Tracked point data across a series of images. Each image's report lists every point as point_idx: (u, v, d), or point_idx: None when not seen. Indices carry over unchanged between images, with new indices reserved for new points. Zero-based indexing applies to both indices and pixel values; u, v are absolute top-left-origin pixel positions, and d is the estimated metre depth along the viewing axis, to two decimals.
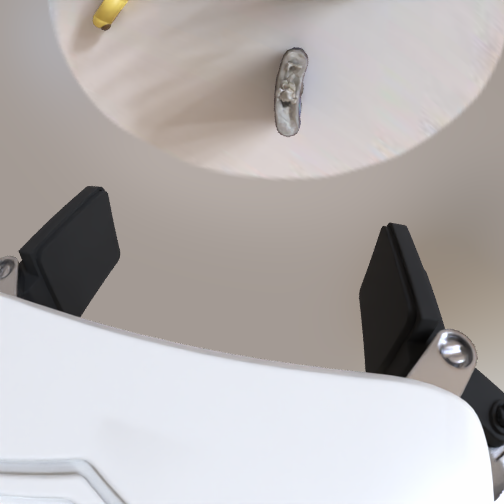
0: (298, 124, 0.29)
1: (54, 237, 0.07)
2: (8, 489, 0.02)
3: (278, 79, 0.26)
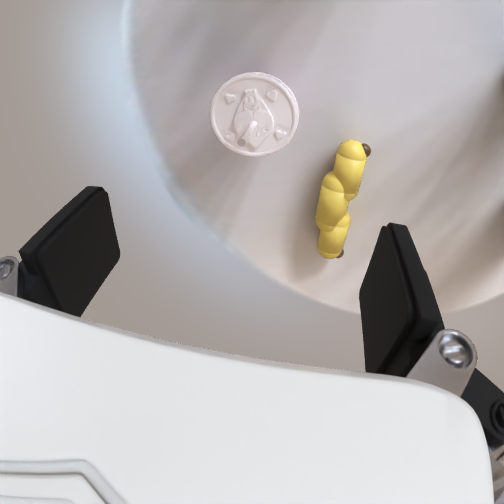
0: None
1: (54, 237, 0.07)
2: (8, 489, 0.02)
3: None
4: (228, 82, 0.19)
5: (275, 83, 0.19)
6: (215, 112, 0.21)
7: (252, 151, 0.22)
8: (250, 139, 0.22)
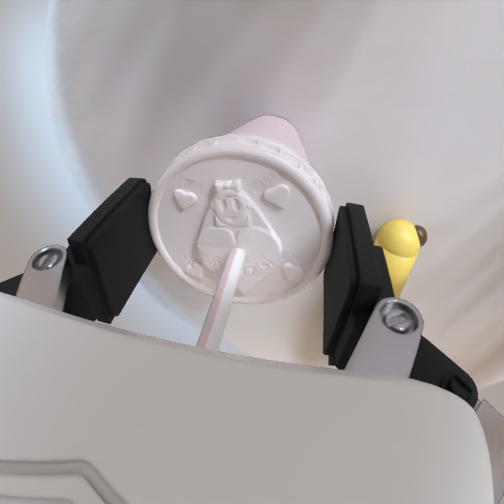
0: None
1: (104, 226, 0.08)
2: (8, 489, 0.02)
3: None
4: (177, 164, 0.09)
5: (285, 168, 0.09)
6: (159, 225, 0.11)
7: (238, 295, 0.12)
8: None
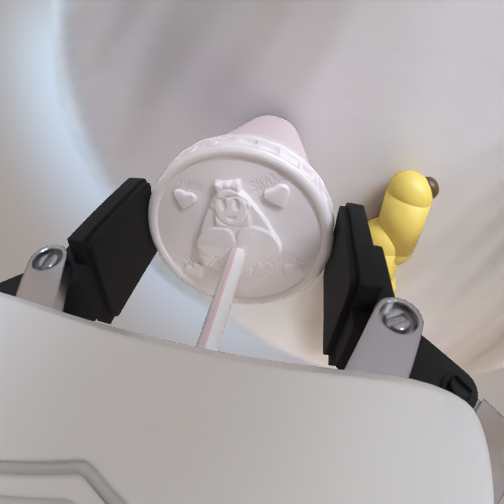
0: None
1: (104, 226, 0.08)
2: (8, 489, 0.02)
3: None
4: (177, 164, 0.09)
5: (285, 168, 0.09)
6: (159, 225, 0.11)
7: (238, 295, 0.12)
8: None
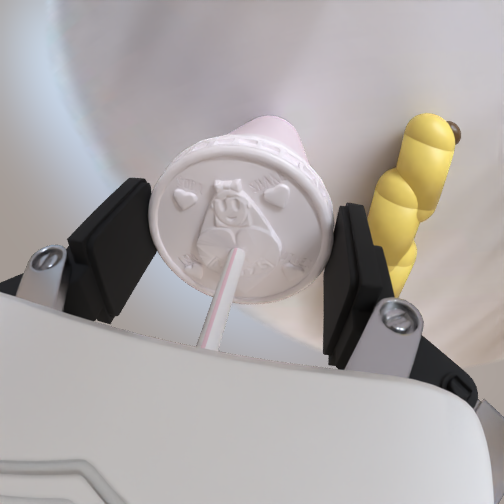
0: None
1: (105, 226, 0.08)
2: (8, 489, 0.02)
3: None
4: (177, 165, 0.09)
5: (285, 168, 0.09)
6: (159, 225, 0.11)
7: (238, 295, 0.12)
8: None
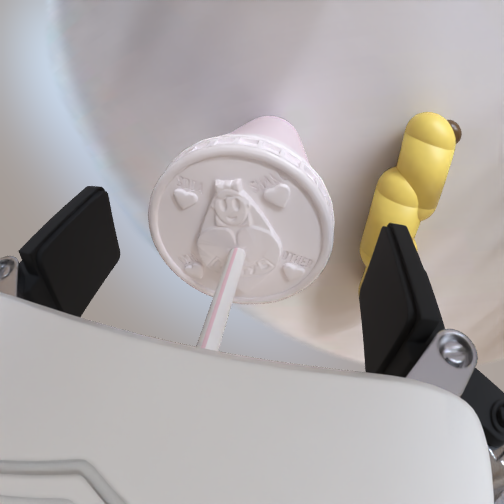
0: None
1: (54, 237, 0.07)
2: (8, 489, 0.02)
3: None
4: (178, 164, 0.09)
5: (286, 168, 0.09)
6: (159, 225, 0.11)
7: (238, 295, 0.12)
8: None
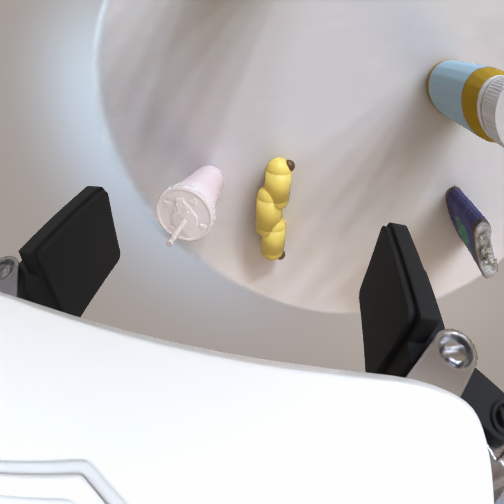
0: (497, 266, 0.29)
1: (54, 237, 0.07)
2: (8, 489, 0.02)
3: (476, 249, 0.29)
4: (164, 193, 0.31)
5: (194, 193, 0.30)
6: (159, 212, 0.32)
7: (187, 237, 0.34)
8: (184, 230, 0.33)
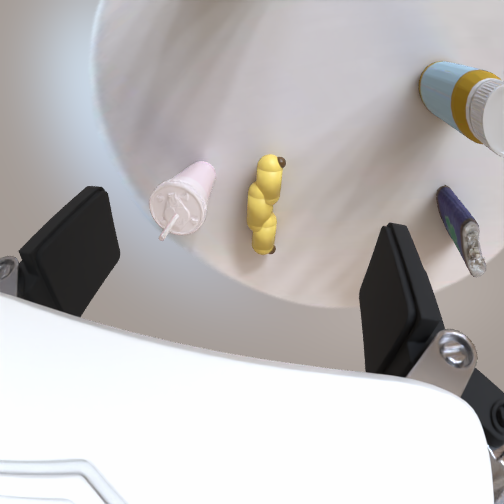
0: (485, 265, 0.31)
1: (54, 237, 0.07)
2: (8, 489, 0.02)
3: (464, 248, 0.30)
4: (157, 188, 0.31)
5: (186, 189, 0.31)
6: (152, 207, 0.33)
7: (179, 231, 0.34)
8: (176, 224, 0.34)
